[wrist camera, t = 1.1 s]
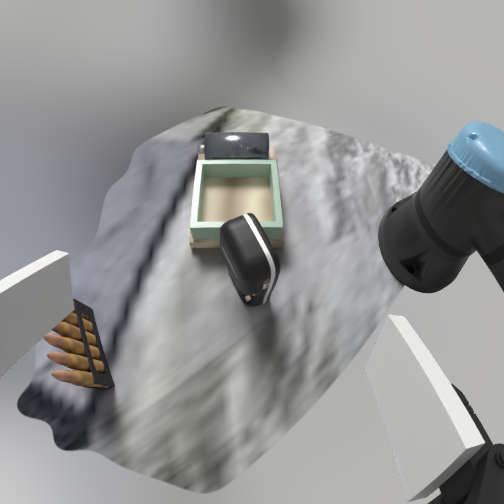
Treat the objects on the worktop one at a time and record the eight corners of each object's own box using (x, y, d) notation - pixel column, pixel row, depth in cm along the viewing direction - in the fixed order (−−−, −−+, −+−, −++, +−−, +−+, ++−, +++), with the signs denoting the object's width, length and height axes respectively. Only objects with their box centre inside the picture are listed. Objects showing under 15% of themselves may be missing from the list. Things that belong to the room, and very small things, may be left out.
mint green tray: (273, 155, 46) (277, 125, 40) (282, 247, 38) (289, 221, 32) (200, 155, 45) (196, 125, 39) (191, 248, 38) (183, 222, 32)
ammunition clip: (81, 312, 33) (29, 280, 22) (92, 308, 33) (42, 274, 22) (103, 390, 29) (47, 386, 18) (115, 386, 29) (62, 382, 18)
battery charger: (219, 266, 37) (212, 217, 26) (246, 255, 38) (250, 203, 27) (242, 315, 34) (244, 282, 24) (271, 302, 35) (285, 264, 25)
